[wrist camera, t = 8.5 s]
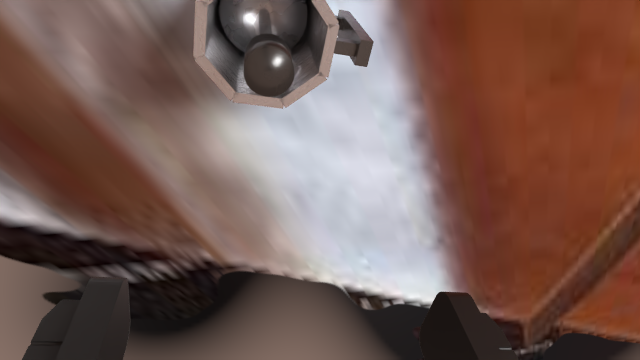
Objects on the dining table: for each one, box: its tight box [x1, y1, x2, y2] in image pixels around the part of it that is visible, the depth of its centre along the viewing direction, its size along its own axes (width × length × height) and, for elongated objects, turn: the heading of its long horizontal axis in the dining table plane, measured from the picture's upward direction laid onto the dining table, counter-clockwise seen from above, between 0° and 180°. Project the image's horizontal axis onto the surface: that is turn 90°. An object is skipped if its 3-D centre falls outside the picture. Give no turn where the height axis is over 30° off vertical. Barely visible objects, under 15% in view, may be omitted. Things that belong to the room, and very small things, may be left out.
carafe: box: [193, 0, 373, 109], centre depth 37 cm, size 10×13×14 cm
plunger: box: [220, 0, 307, 97], centre depth 31 cm, size 8×8×15 cm
